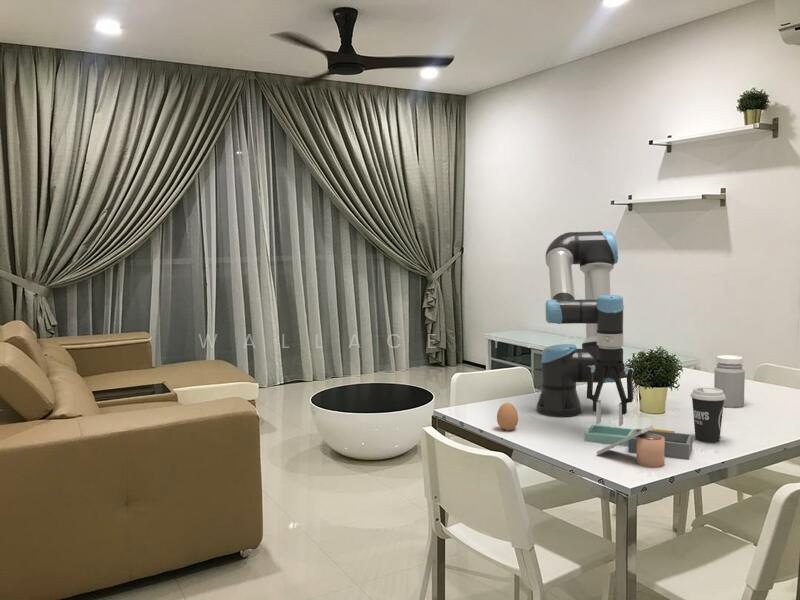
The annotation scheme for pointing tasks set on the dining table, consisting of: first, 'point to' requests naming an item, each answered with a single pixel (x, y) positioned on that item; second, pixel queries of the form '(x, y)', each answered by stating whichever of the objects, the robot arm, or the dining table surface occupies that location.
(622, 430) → the trough
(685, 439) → the grey storage tray
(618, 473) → the dining table surface
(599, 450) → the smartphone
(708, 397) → the coffee cup
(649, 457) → the salmon cylinder
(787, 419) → the dining table surface
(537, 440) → the dining table surface
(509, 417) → the egg
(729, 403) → the jar
